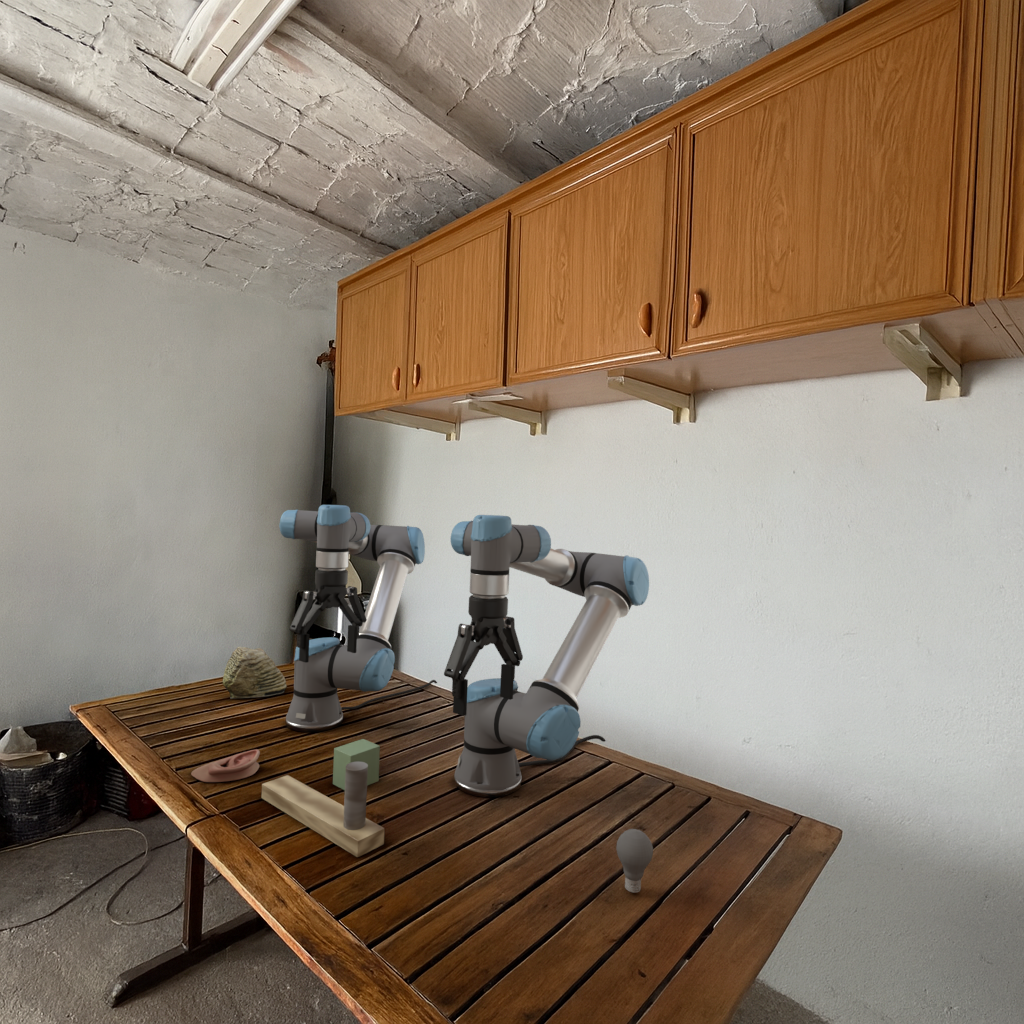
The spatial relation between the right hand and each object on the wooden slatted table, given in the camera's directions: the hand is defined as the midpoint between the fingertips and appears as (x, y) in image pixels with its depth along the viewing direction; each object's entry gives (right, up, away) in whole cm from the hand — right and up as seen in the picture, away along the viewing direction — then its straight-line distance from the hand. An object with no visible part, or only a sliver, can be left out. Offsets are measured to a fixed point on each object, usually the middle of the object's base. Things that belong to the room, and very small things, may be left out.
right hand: (483, 705), depth 122 cm
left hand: (-39, +2, +31) cm, 50 cm away
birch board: (-33, -23, +3) cm, 40 cm away
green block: (-29, -23, +19) cm, 42 cm away
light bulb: (+26, -26, -16) cm, 40 cm away
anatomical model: (-59, -22, +21) cm, 67 cm away
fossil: (-75, -20, +76) cm, 109 cm away
